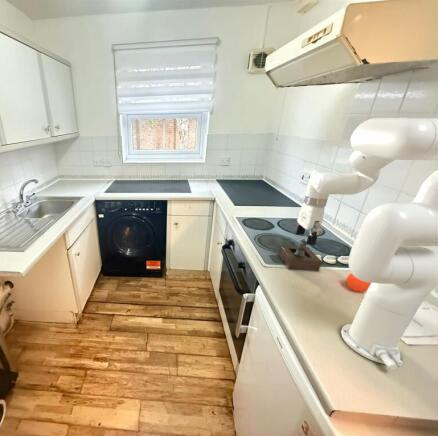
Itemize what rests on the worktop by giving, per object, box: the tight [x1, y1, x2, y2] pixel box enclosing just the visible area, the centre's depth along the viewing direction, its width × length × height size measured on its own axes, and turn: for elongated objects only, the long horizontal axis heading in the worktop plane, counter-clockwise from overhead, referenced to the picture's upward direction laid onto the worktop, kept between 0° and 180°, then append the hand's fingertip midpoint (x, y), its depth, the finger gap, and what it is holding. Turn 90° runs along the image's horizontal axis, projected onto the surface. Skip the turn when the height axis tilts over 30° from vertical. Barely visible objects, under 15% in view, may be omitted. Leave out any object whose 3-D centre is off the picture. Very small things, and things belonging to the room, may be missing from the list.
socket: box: [278, 245, 323, 272], centre depth 106 cm, size 12×12×5 cm
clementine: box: [345, 273, 371, 293], centre depth 89 cm, size 8×7×7 cm
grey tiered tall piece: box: [293, 238, 308, 257], centre depth 104 cm, size 6×6×12 cm
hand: (304, 239), depth 101 cm, fingers open, 9 cm apart
